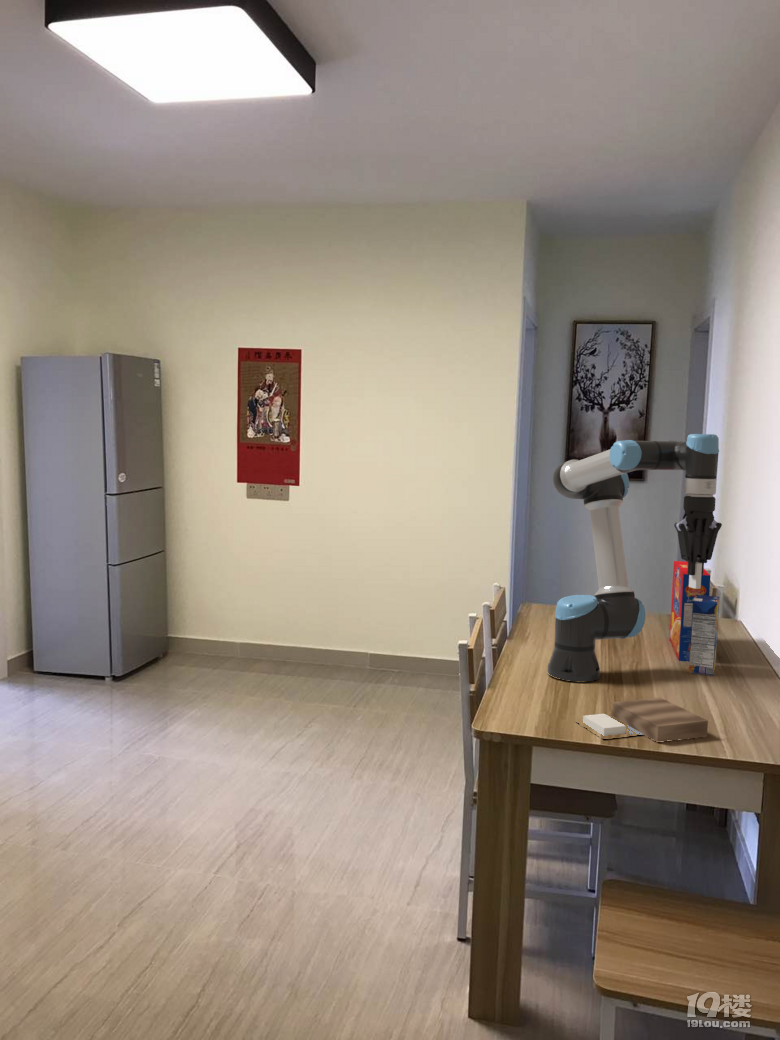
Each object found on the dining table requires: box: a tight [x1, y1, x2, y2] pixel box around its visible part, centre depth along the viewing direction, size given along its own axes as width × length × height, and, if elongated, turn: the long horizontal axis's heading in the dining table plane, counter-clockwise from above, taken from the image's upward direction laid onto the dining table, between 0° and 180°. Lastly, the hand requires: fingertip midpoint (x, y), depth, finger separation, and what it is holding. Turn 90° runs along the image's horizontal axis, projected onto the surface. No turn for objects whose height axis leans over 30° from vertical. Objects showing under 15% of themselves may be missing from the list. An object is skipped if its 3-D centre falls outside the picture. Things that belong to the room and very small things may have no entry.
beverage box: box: [688, 595, 720, 676], centre depth 252 cm, size 7×11×22 cm, turn 156°
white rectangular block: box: [582, 713, 626, 736], centre depth 199 cm, size 9×6×2 cm, turn 19°
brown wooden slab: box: [612, 696, 709, 741], centre depth 202 cm, size 18×14×4 cm
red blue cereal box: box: [668, 560, 711, 663], centre depth 274 cm, size 28×8×28 cm, turn 167°
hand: (694, 587), depth 211 cm, fingers closed
